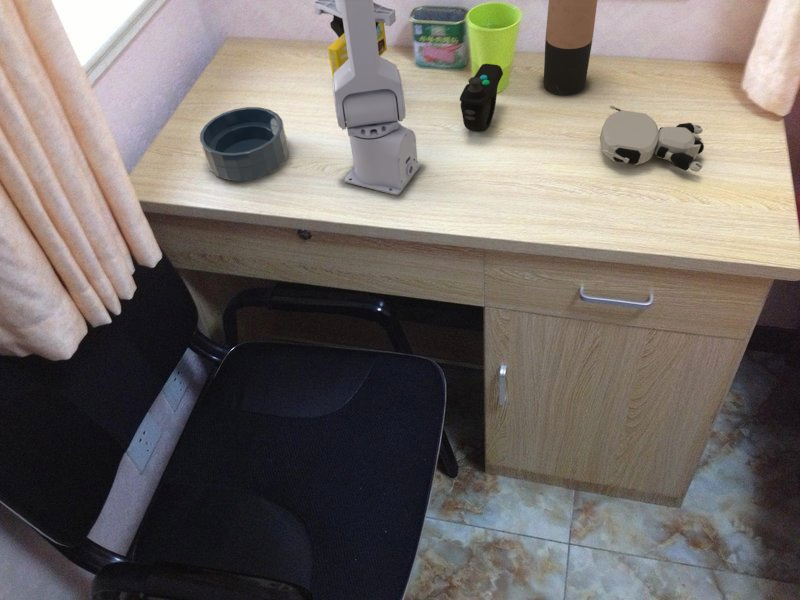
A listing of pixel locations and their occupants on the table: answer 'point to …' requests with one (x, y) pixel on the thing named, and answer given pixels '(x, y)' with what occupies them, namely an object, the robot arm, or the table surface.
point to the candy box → (339, 48)
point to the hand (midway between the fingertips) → (360, 58)
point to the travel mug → (568, 45)
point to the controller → (480, 97)
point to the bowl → (244, 143)
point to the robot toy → (649, 140)
